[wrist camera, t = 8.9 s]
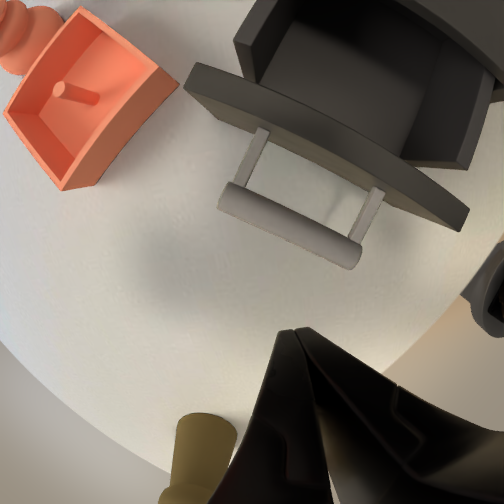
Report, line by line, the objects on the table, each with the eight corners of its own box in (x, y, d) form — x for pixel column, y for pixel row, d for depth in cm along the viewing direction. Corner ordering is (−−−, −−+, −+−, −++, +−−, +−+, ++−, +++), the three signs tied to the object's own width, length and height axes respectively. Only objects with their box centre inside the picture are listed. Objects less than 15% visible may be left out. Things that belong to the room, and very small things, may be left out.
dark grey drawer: (364, 262, 19) (413, 317, 12) (189, 179, 18) (138, 190, 11) (454, 52, 15) (517, 21, 7) (301, -32, 14) (313, -101, 6)
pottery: (179, 84, 18) (112, 29, 8) (94, 185, 20) (-3, 205, 10) (61, -8, 15) (-2, -46, 5) (1, 71, 17) (-71, 59, 7)
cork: (175, 441, 27) (149, 524, 16) (179, 406, 25) (147, 501, 14) (231, 454, 27) (219, 540, 16) (243, 421, 25) (232, 521, 14)
